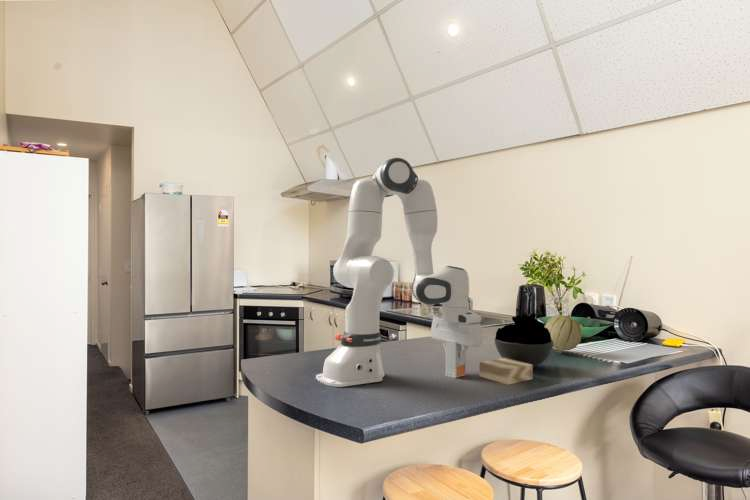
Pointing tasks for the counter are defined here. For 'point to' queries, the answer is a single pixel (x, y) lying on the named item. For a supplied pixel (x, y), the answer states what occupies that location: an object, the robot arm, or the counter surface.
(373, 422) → the counter surface
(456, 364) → the skincare box
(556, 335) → the cantaloupe
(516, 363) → the maple block
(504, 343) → the bowl of black rocks
